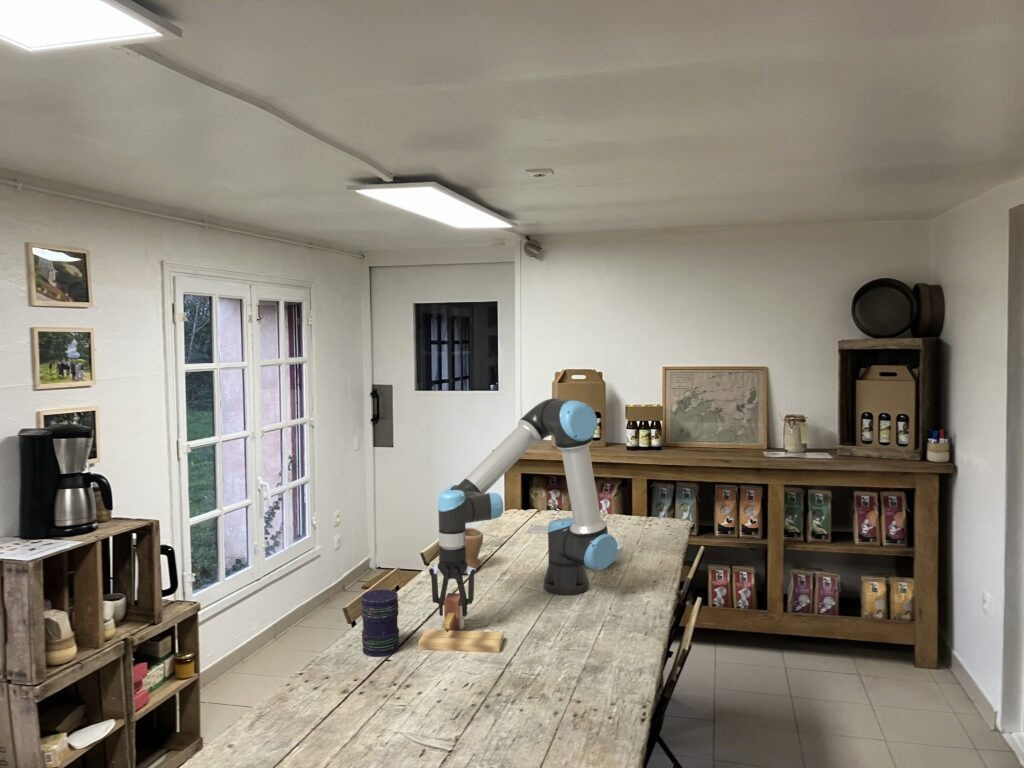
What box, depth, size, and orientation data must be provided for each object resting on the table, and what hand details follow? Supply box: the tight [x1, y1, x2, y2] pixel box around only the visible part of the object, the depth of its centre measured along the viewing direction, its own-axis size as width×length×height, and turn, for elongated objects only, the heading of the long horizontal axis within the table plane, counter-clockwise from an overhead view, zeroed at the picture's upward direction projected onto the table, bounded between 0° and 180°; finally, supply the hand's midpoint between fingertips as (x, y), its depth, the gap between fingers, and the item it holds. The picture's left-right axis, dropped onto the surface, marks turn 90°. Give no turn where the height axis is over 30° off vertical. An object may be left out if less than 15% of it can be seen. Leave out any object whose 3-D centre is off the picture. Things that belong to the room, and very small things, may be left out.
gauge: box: [442, 592, 461, 632], centre depth 222 cm, size 4×14×9 cm, turn 173°
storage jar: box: [360, 589, 400, 658], centre depth 214 cm, size 10×10×15 cm
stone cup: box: [463, 527, 484, 575], centre depth 285 cm, size 15×12×15 cm
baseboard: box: [528, 524, 549, 535], centre depth 336 cm, size 31×3×12 cm
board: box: [417, 629, 504, 653], centre depth 218 cm, size 22×9×2 cm, turn 83°
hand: (453, 626), depth 226 cm, fingers closed on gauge, 4 cm apart
